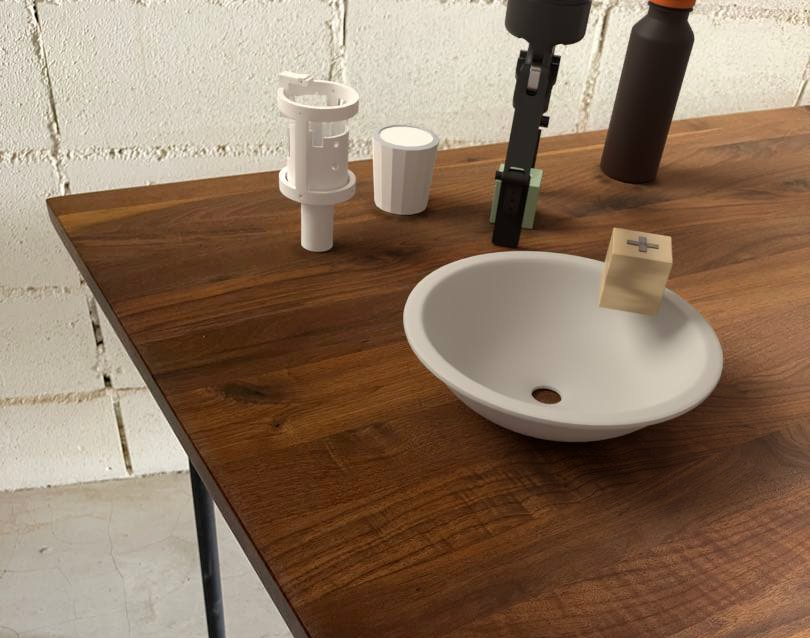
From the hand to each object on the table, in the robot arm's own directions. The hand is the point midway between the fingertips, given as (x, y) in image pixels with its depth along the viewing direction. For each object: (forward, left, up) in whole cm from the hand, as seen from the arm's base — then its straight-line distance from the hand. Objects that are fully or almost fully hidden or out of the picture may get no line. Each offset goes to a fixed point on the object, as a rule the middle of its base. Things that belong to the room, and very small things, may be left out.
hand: (511, 215), depth 94 cm
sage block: (0, 0, 0) cm, 0 cm away
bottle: (-12, -17, 0) cm, 21 cm away
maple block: (-11, +26, +6) cm, 29 cm away
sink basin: (-6, +32, 0) cm, 33 cm away
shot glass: (+12, +1, 0) cm, 12 cm away
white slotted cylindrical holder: (+18, +13, 0) cm, 22 cm away
